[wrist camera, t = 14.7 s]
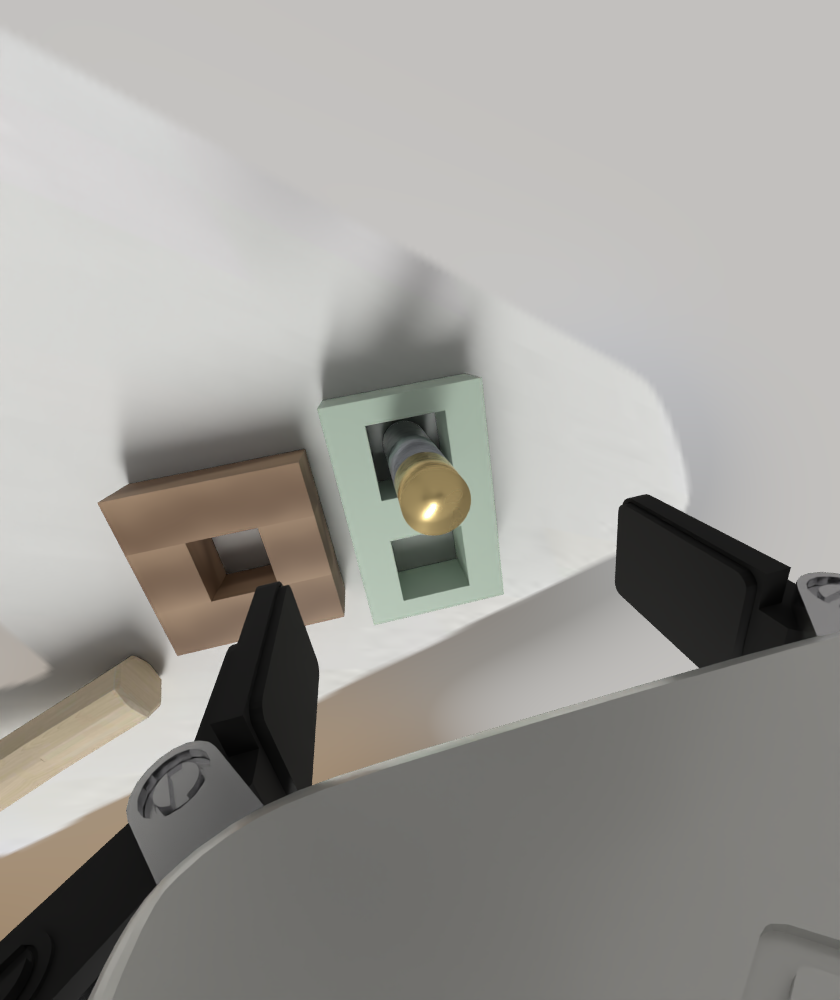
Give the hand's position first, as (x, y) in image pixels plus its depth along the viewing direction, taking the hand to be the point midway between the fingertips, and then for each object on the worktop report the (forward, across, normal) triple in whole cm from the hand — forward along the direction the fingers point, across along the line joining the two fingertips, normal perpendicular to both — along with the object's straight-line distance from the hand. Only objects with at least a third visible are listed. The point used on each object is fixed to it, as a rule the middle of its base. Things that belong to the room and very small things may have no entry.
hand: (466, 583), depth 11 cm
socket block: (+19, +12, +6) cm, 23 cm away
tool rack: (+19, -1, +5) cm, 20 cm away
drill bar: (+19, -1, +1) cm, 19 cm away
